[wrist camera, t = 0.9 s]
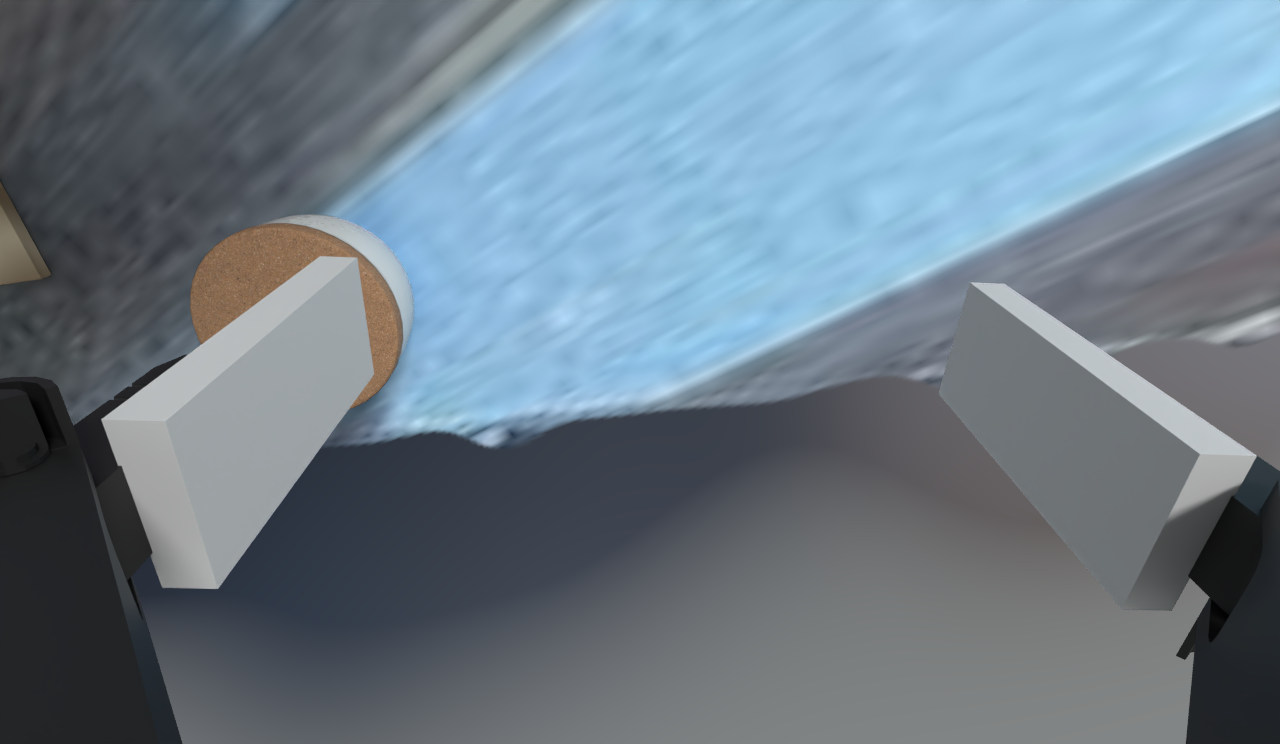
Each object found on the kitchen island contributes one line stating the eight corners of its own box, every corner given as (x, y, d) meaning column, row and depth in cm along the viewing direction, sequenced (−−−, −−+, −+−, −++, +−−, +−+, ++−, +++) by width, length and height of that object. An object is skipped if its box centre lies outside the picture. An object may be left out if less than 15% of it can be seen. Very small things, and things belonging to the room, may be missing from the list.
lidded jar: (256, 178, 40) (157, 215, 31) (441, 213, 41) (393, 259, 32) (264, 342, 44) (179, 413, 36) (429, 370, 45) (384, 445, 37)
